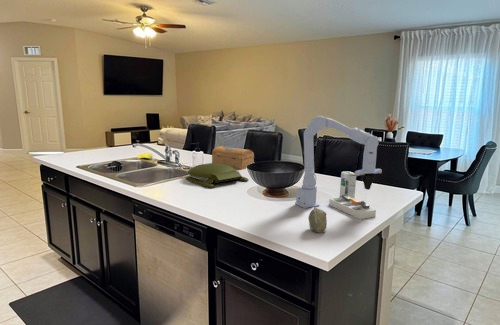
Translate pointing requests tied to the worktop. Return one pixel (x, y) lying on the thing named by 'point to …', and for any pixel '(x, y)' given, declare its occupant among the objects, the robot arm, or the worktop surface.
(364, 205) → the rocker
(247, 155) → the wooden box
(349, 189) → the syrup box
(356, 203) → the rocker
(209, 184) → the folded olive dish cloth
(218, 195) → the worktop surface
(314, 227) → the mottled olive rock
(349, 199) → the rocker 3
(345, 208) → the white tray
